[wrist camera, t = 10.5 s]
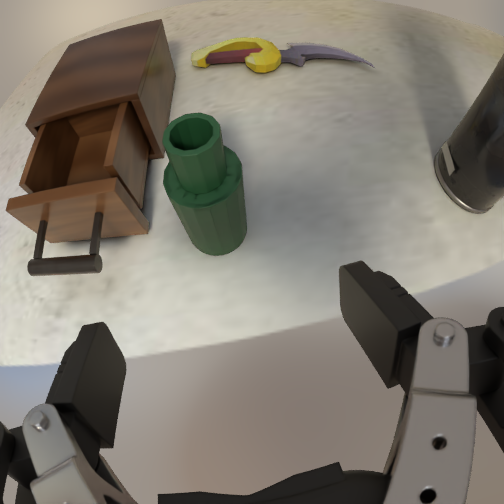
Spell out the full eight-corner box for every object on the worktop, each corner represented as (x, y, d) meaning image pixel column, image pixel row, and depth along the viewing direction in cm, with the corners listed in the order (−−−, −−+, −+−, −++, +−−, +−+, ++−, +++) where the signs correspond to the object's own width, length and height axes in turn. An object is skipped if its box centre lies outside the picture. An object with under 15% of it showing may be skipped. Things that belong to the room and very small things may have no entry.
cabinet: (163, 158, 31) (137, 93, 22) (66, 174, 31) (24, 125, 22) (175, 75, 36) (161, 18, 27) (93, 93, 36) (69, 44, 27)
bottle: (245, 201, 29) (236, 97, 17) (248, 253, 27) (240, 166, 15) (190, 205, 29) (151, 107, 17) (189, 257, 27) (140, 177, 15)
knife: (361, 51, 38) (195, 51, 38) (364, 38, 35) (192, 37, 35) (376, 82, 35) (190, 81, 35) (381, 68, 33) (187, 66, 33)
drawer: (145, 287, 25) (105, 258, 18) (44, 289, 25) (-7, 266, 18) (160, 123, 32) (142, 72, 24) (75, 140, 32) (46, 99, 24)
